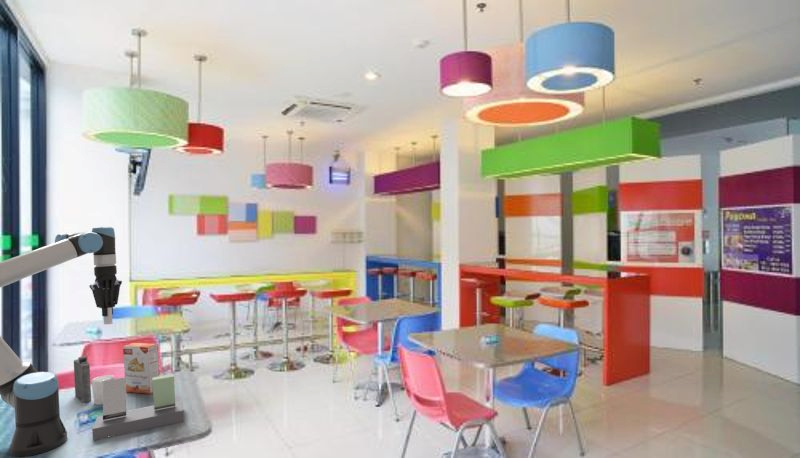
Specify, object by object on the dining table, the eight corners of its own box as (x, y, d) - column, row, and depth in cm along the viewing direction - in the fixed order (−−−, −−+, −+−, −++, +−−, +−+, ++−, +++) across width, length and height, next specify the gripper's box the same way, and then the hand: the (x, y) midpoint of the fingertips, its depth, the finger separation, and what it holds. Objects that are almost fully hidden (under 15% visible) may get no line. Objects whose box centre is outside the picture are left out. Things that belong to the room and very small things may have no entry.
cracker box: (124, 392, 199) (122, 345, 199) (136, 387, 205) (133, 342, 205) (149, 394, 195) (147, 346, 195) (160, 389, 201) (158, 343, 201)
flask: (84, 393, 201) (82, 353, 201) (94, 400, 191) (92, 358, 191) (74, 395, 198) (72, 355, 198) (84, 403, 189) (82, 360, 188)
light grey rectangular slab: (103, 420, 160) (103, 381, 165) (126, 415, 163) (126, 378, 168) (102, 419, 159) (103, 381, 164) (125, 415, 162) (125, 377, 167)
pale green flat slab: (154, 407, 168) (152, 377, 164) (175, 403, 171) (173, 373, 167) (154, 410, 167) (152, 380, 163) (175, 406, 170) (173, 376, 166)
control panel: (97, 427, 164) (97, 416, 164) (182, 409, 177) (182, 399, 177) (92, 440, 153) (92, 429, 153) (183, 421, 166) (183, 410, 166)
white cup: (119, 398, 193) (118, 374, 193) (105, 405, 185) (104, 381, 185) (102, 398, 194) (101, 375, 194) (88, 405, 186) (86, 381, 186)
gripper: (112, 264, 188) (114, 320, 188) (82, 267, 175) (85, 327, 175) (126, 263, 186) (129, 320, 186) (98, 266, 173) (101, 327, 173)
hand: (108, 323), depth 181 cm, fingers closed
